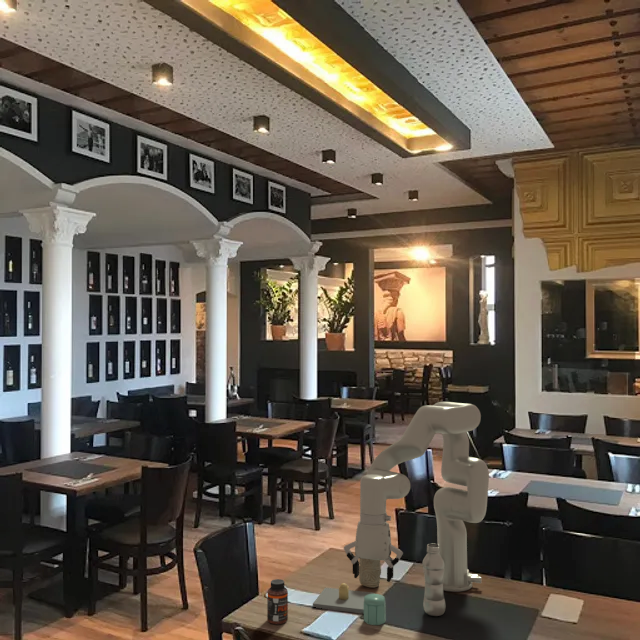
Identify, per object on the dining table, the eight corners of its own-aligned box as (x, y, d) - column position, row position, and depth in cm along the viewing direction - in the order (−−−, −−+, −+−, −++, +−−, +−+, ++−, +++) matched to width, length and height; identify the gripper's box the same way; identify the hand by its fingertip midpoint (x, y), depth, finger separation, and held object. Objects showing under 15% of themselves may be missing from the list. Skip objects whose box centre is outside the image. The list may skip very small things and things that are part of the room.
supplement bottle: (280, 627, 181) (279, 586, 181) (263, 622, 184) (262, 582, 184) (292, 619, 186) (291, 580, 186) (275, 614, 189) (275, 576, 189)
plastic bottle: (432, 620, 184) (431, 550, 184) (418, 611, 190) (417, 544, 190) (450, 616, 187) (449, 547, 187) (436, 607, 193) (435, 540, 193)
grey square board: (373, 596, 201) (373, 578, 201) (364, 613, 189) (363, 594, 189) (325, 591, 206) (325, 573, 206) (312, 607, 194) (312, 588, 194)
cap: (387, 617, 186) (386, 595, 186) (382, 626, 181) (382, 603, 181) (367, 614, 188) (366, 592, 188) (362, 623, 182) (362, 600, 183)
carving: (385, 586, 210) (384, 549, 210) (367, 591, 205) (366, 553, 206) (373, 580, 215) (372, 544, 215) (355, 585, 211) (354, 548, 211)
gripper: (404, 517, 186) (404, 577, 185) (347, 512, 191) (347, 570, 190) (400, 524, 179) (400, 586, 178) (340, 519, 184) (340, 579, 183)
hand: (372, 578), depth 184 cm, fingers open, 9 cm apart
